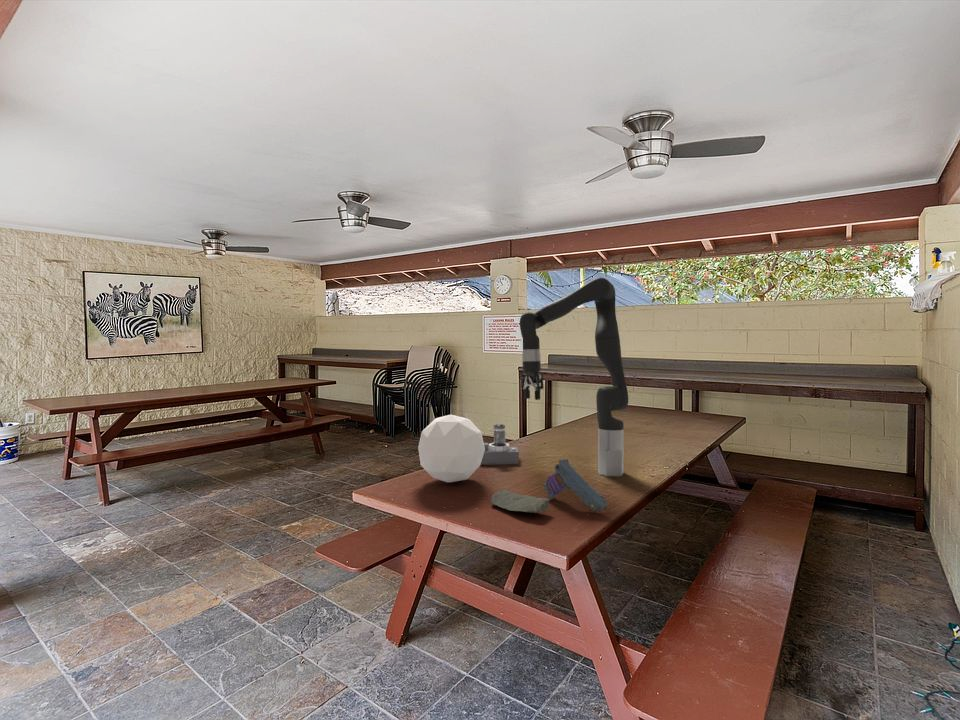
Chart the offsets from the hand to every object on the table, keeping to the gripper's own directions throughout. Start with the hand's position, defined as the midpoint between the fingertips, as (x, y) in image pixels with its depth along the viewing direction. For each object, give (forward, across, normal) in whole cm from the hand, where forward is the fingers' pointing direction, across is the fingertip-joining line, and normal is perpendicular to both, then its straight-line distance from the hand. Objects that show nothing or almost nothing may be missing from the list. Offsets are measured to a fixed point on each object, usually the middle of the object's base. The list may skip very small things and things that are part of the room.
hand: (532, 399), depth 208 cm
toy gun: (+32, -46, +16) cm, 59 cm away
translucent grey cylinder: (+21, +6, +13) cm, 25 cm away
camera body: (+27, +6, +13) cm, 30 cm away
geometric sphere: (+28, -10, +41) cm, 50 cm away
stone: (+29, -47, +36) cm, 66 cm away
